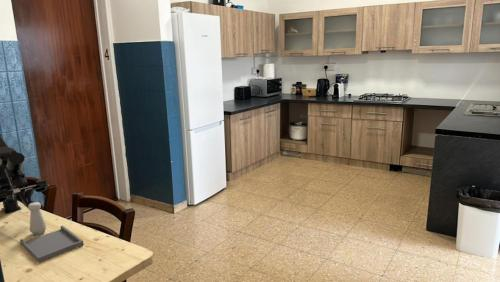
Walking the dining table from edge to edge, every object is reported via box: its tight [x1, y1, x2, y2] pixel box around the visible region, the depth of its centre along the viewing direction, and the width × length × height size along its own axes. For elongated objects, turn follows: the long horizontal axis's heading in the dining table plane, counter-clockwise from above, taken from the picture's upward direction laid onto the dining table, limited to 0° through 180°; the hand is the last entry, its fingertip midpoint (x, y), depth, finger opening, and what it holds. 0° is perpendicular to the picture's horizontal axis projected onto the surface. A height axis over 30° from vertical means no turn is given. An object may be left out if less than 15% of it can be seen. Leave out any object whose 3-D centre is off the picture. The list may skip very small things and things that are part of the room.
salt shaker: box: [27, 201, 47, 237], centre depth 146 cm, size 6×6×13 cm
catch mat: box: [19, 225, 84, 264], centre depth 139 cm, size 19×16×2 cm
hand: (29, 208), depth 150 cm, fingers closed
